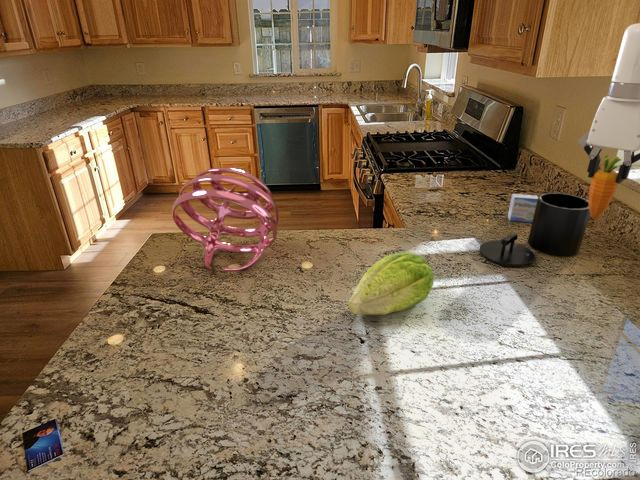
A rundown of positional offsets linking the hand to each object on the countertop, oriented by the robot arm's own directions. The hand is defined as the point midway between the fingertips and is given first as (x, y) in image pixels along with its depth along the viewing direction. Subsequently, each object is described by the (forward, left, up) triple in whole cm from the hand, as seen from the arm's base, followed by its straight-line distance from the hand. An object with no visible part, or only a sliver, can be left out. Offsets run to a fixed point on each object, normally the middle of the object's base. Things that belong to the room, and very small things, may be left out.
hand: (605, 178), depth 93 cm
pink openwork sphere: (+69, +56, -29) cm, 94 cm away
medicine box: (+30, -32, -29) cm, 53 cm away
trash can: (+14, -20, -29) cm, 38 cm away
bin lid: (+20, -4, -28) cm, 35 cm away
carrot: (0, 0, -10) cm, 10 cm away
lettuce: (+25, +41, -29) cm, 56 cm away
